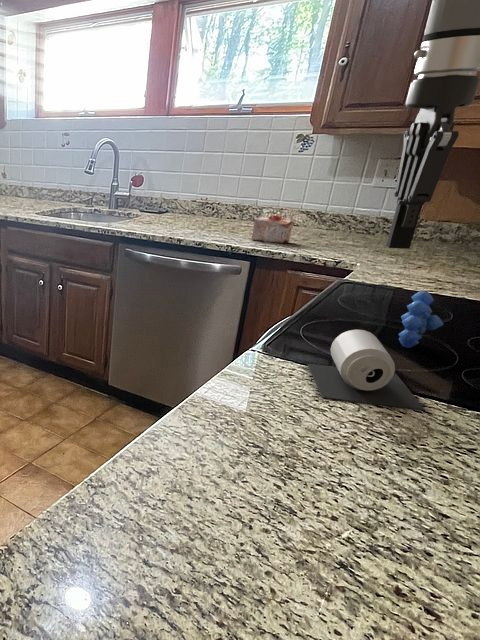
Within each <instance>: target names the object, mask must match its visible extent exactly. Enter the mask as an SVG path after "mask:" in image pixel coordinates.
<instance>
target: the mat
mask: <svg viewBox="0 0 480 640" xmlns="http://www.w3.org/2000/svg"><path fill="white" fill-rule="evenodd" d="M306 365H307V368H308V369H309V372H310V374H311V376H312V378H313V381H314V383H315V385H316V387H317V389H318V391H319V394H320V396H321V398H322V399H326V400H327V399H328V400H333V401H334V400H335V401H343V402H350V403H359V404H367V405H375V406H383V407H389V408H390V407H392V408H400V409H406V410H407V409H408V410H415V411H423V412H424V411H425V410H426V409H425V408H424V407H423V405H422V404H421V403H420V402H419V400H418V399H417V398H416V397H415V395H414V394H413V393H412V391H411V390H410V389H409V388H408V387H407V385H406V384H405V383H404V381H403V380H402V379H401V377H399V375H398V374H397V373H396V372H394V375H393V377H392V378H391V380H390V381H389V382H388V383H387V384H386V385H385V386H383V387H382V388H379V389H377V390H371V391H365V390H358V389H355V388H353V387H350V386H349V385H348V384H346V383H345V382H344V380H343V378H342V377H341V375H340V372H339V370H338V368H337V366H335V365H325V364H324V365H323V364H313V363H307V364H306Z"/></svg>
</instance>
